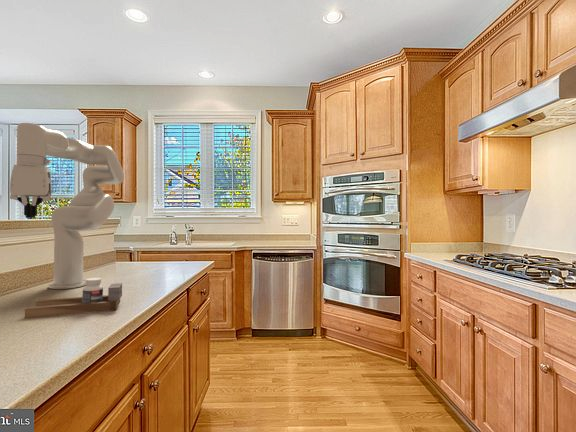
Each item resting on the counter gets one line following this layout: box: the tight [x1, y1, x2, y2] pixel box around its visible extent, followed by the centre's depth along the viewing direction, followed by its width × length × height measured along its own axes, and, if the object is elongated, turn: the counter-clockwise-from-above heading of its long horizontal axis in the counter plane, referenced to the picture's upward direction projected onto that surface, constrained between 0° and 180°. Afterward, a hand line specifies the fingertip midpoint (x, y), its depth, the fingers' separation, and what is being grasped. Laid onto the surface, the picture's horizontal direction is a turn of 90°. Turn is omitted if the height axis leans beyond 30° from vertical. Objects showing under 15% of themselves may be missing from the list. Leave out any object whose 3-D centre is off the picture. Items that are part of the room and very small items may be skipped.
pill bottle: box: [81, 277, 104, 303], centre depth 95 cm, size 5×5×9 cm
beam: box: [24, 282, 123, 319], centre depth 94 cm, size 10×23×6 cm, turn 111°
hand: (30, 217), depth 102 cm, fingers closed
